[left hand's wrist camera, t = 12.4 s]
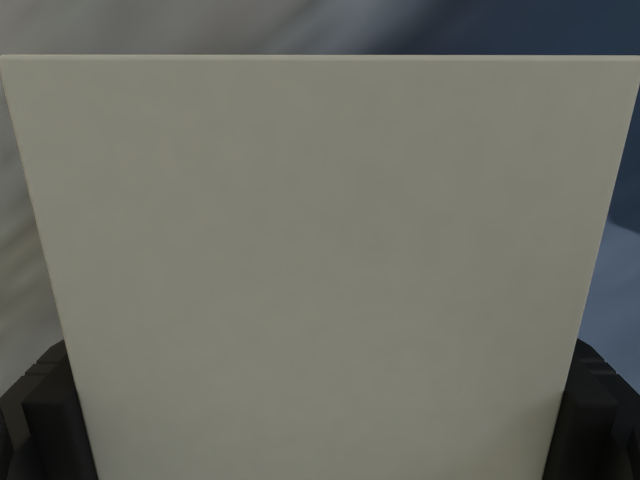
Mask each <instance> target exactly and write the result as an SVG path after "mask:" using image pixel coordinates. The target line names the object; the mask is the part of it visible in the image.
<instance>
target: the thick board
mask: <svg viewBox="0 0 640 480" xmlns="http://www.w3.org/2000/svg"><path fill="white" fill-rule="evenodd" d="M0 76H1V80H2V84H3V89H4V93H5V97H6V101H7V105H8V109H9V113H10V117H11V122H12V126H13V130H14V134H15V138H16V142H17V146H18V150H19V155H20V159H21V163H22V167H23V171H24V175H25V179H26V184H27V188H28V192H29V196H30V200H31V204H32V208H33V212H34V217H35V221H36V225H37V229H38V233H39V237H40V241H41V245H42V250H43V254H44V258H45V262H46V266H47V270H48V274H49V278H50V283H51V287H52V291H53V295H54V299H55V303H56V307H57V312H58V316H59V320H60V324H61V328H62V332H63V336H64V340H65V345H66V349H67V353H68V357H69V361H70V365H71V369H72V373H73V378H74V382H75V386H76V390H77V394H78V398H79V402H80V406H81V411H82V415H83V419H84V423H85V427H86V431H87V435H88V440H89V444H90V448H91V452H92V456H93V460H94V464H95V468H96V473H97V477H98V480H542V478H543V474H544V470H545V465H546V461H547V457H548V453H549V449H550V445H551V441H552V437H553V433H554V429H555V425H556V421H557V417H558V413H559V409H560V405H561V401H562V397H563V393H564V389H565V384H566V380H567V376H568V372H569V368H570V364H571V360H572V356H573V352H574V348H575V344H576V340H577V336H578V332H579V328H580V324H581V320H582V316H583V312H584V308H585V303H586V299H587V295H588V291H589V287H590V283H591V279H592V275H593V271H594V267H595V263H596V259H597V255H598V251H599V247H600V243H601V239H602V235H603V231H604V227H605V222H606V218H607V214H608V210H609V206H610V202H611V198H612V194H613V190H614V186H615V182H616V178H617V174H618V170H619V166H620V162H621V158H622V154H623V150H624V146H625V141H626V137H627V133H628V129H629V125H630V121H631V117H632V113H633V109H634V105H635V101H636V97H637V93H638V89H639V85H640V56H639V55H120V54H2V55H0Z"/></svg>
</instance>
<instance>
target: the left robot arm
mask: <svg viewBox="0 0 640 480" xmlns="http://www.w3.org/2000/svg"><path fill="white" fill-rule="evenodd" d="M0 480H98V477H97V473H96V468H95V464H94V460H93V456H92V452H91V448H90V444H89V440H88V435H87V431H86V427H85V423H84V419H83V415H82V411H81V406H80V402H79V398H78V394H77V390H76V386H75V382H74V378H73V373H72V369H71V365H70V361H69V357H68V353H67V349H66V345H65V340H64V339H63V340H62V341H60V342H58V343H57V344H55V345H53V346H52V347H50V348H49V349H48V350H47V351H46V352H45V353H44V354H43V355H42V356H41V357H40V358H39V359H38V360H37V363H36V364H33V365H32V366H31V367H30V368H29V369H28V370H27V371H26V372H25V376H21V377H20V378H19V379H18V380H17V381H16V382H15V383H14V384H13V385H12V386H11V387H10V389H9V390H8V391H7V392H6V393H5V394H4V395H3V396H2V397H1V398H0ZM542 480H640V395H639V394H638V393H637V392H636V391H635V390H634V389H633V388H632V387H631V386H630V385H629V384H628V383H627V382H626V381H625V380H624V379H623V378H622V377H621V376H620V375H619V374H616V371H615V370H614V369H613V368H612V367H611V366H610V365H609V364H608V363H605V362H604V359H603V358H602V357H601V356H600V355H599V354H598V353H597V352H596V351H595V350H594V349H593V348H592V347H591V346H590V345H588V344H586V343H585V342H583V341H581V340H580V339H578V338H577V340H576V344H575V348H574V352H573V356H572V360H571V364H570V368H569V372H568V376H567V380H566V384H565V389H564V393H563V397H562V401H561V405H560V409H559V413H558V417H557V421H556V425H555V429H554V433H553V437H552V441H551V445H550V449H549V453H548V457H547V461H546V465H545V470H544V474H543V478H542Z"/></svg>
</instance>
